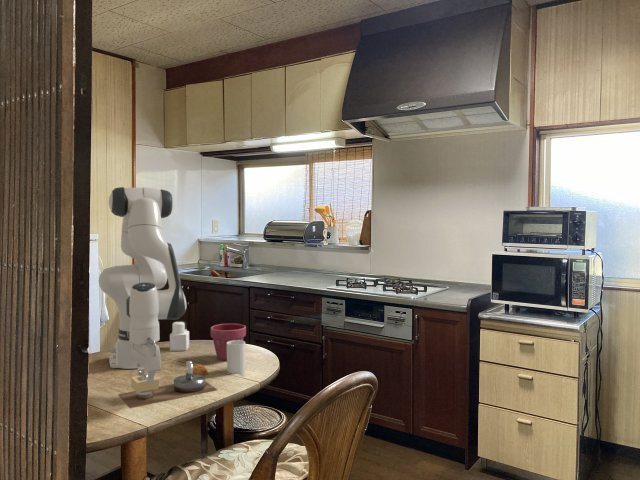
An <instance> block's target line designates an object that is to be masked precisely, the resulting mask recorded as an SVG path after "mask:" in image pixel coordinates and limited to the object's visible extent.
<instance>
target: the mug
mask: <svg viewBox="0 0 640 480" xmlns="http://www.w3.org/2000/svg"><path fill="white" fill-rule="evenodd" d="M226 365H227V366H226V369H227V373H229V374H238V375H240V376H241V377H244V376H245V373H246V371H245V370H246V341H245V340H243V341H241V340H233V341H229V342H227V360H226Z"/></svg>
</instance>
